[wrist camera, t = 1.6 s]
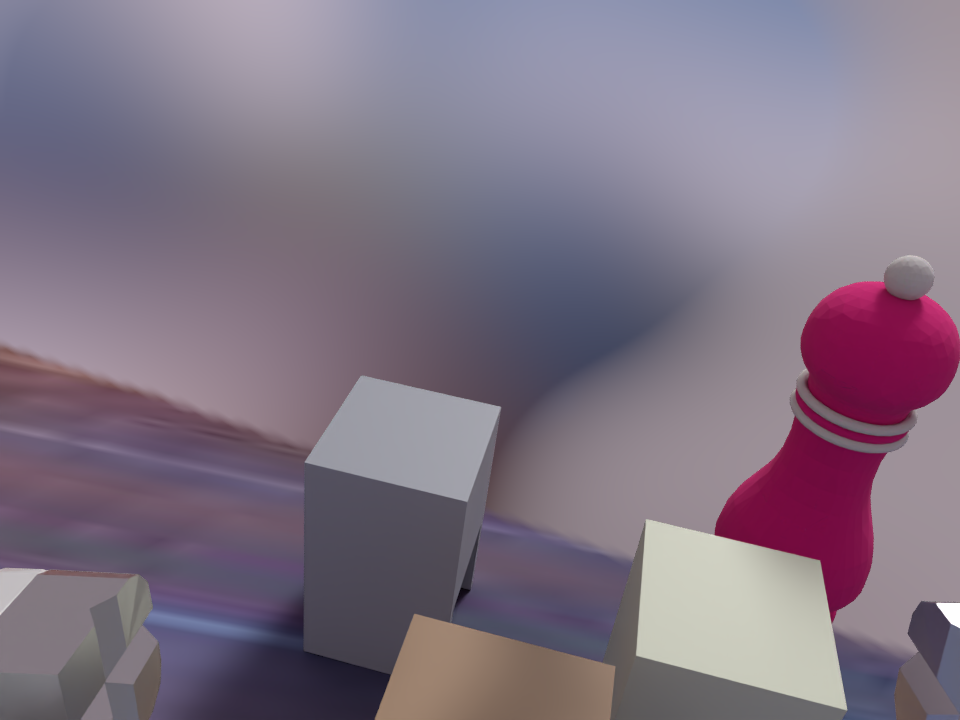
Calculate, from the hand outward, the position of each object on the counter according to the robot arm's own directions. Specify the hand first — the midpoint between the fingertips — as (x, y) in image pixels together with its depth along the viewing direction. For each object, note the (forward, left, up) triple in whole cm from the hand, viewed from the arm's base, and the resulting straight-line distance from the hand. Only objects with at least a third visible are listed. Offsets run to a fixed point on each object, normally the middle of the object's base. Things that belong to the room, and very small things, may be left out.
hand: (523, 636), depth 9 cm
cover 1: (-6, +20, -25) cm, 32 cm away
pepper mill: (+12, +27, -25) cm, 38 cm away
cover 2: (+7, +15, -25) cm, 30 cm away
